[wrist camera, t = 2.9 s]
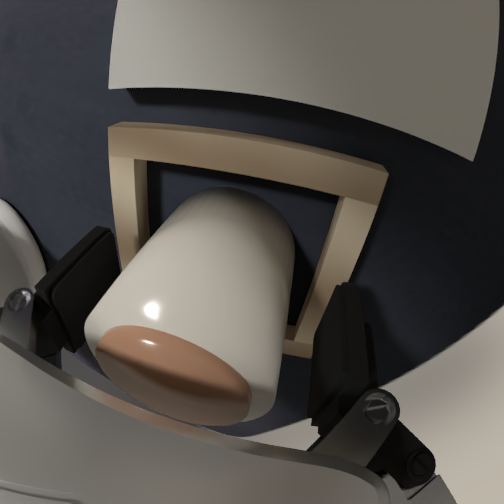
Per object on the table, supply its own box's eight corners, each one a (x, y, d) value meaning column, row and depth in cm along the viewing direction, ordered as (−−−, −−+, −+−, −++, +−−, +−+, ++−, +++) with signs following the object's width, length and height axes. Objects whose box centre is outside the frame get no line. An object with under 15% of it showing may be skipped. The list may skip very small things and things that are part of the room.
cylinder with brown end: (168, 176, 11) (50, 288, 5) (309, 203, 10) (300, 364, 5) (174, 316, 16) (123, 420, 10) (270, 340, 15) (246, 458, 10)
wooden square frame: (122, 121, 10) (108, 127, 9) (382, 164, 9) (388, 173, 8) (139, 300, 15) (131, 312, 15) (311, 344, 15) (310, 358, 14)
